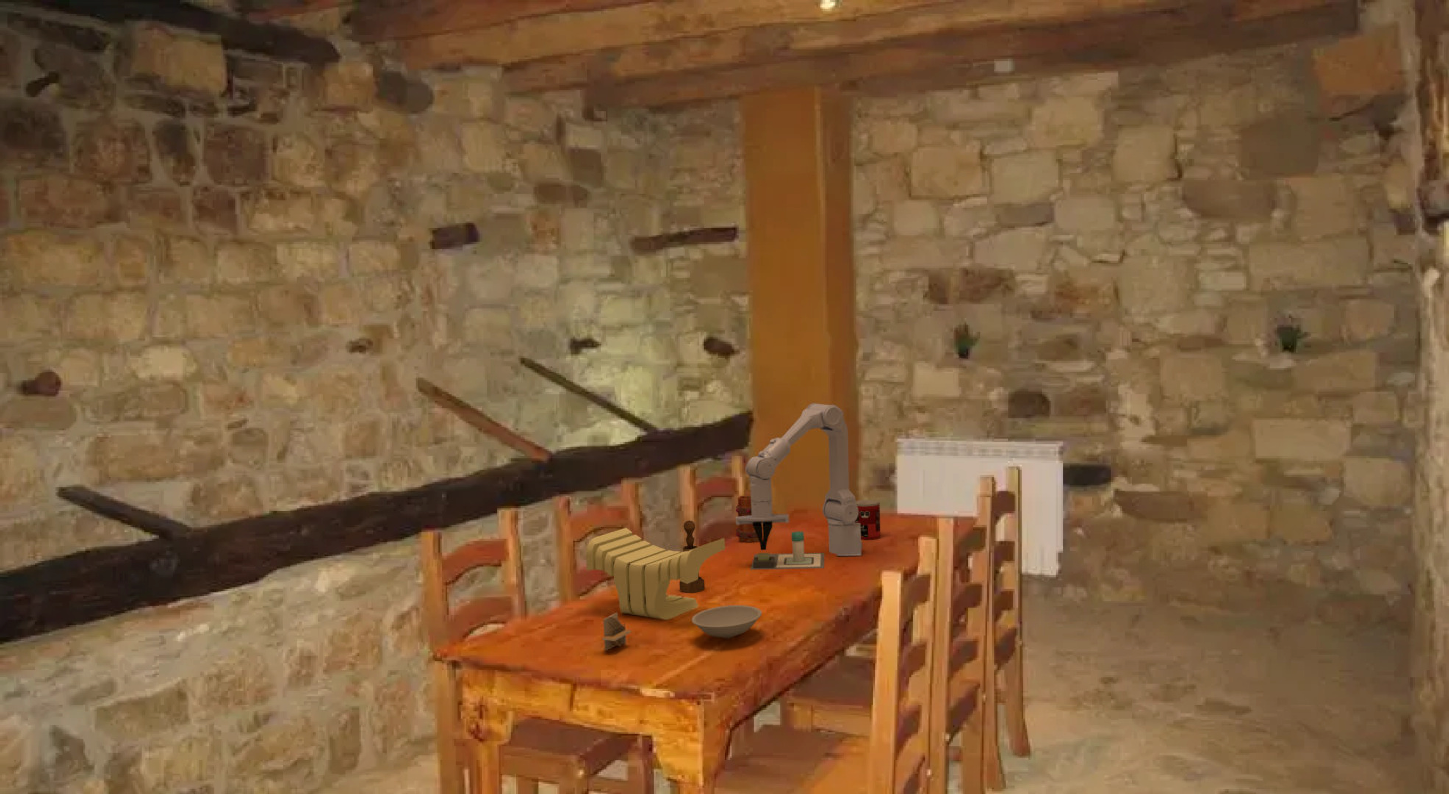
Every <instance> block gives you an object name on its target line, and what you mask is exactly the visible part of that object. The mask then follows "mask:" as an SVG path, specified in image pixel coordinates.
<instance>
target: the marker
mask: <svg viewBox="0 0 1449 794" xmlns="http://www.w3.org/2000/svg"><path fill="white" fill-rule="evenodd" d="M790 535H791V544H792V545H791V546H792V553H793V562H804V561H805V558H804V553H805V541H804V540H805V539H804V538H805V534H804V531H800V530H799V531H798V530H797V531H792V532H791V533H790Z"/></svg>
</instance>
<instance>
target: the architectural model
mask: <svg viewBox="0 0 1449 794" xmlns="http://www.w3.org/2000/svg"><path fill="white" fill-rule="evenodd" d="M618 613H619V612H615V613H613V614H611V615H609V616H607V617H605V618H603V619H602V620H603V637H602V639H601V640H602V641H603V640H604V641H603V642H604V643H603V644H604V651H605V652H607V651H609V650H611V649H612V648H614V647H620V648H621V647H622V645H626V644H627V639H626V637H627V636H626V635H628V634H630V633H631V632H632V630H628V629H626V623H623V624H622V623H621V622H620V620H619V617H618ZM613 646H614V647H613ZM608 649H609V650H608ZM606 650H607V651H606Z"/></svg>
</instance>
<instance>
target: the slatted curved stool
mask: <svg viewBox="0 0 1449 794" xmlns="http://www.w3.org/2000/svg"><path fill="white" fill-rule="evenodd" d="M725 540H726V539H725V537H723V538H720V539H716V540H714V541H711V542H707V543H706V544H702V545H700V546H697V548H694V549H692V550H690V551H685V552H683V551H678V550H677V551H675V550H670V549H668V550H667V549H666V548H663V547H660V546H656V545H654V544H652V545H651V543H650V542H648V541H646V540H642V538H641V537H640V536H638V535H637V534H633V532H632V531H631V530H630V529H628V528H627V527H624V528H622V529H618V530H614V531H612V532H608V533H604V534H603V535H598V536H595V537H593V538H592V539H591V540H590V541H589V542H588V544H587V546H586V550H585V559H586V560H585V561H586V571H587V572H588V571H593V570H596V571H604V572H605V573H606V574H608V575H609V576H610V577H613V581H614V582H613V583H614V585H615V590H616V592H617V597H618V603H619V605H618V606H619V609H620V610H619V611H620V613H622V614H628V615H633V616H641V617H645V618H653V619H660V620H671V619H672V618H676V617H677V616H679V615H682V614H684V613H685V614H686V613H687V612H689V611H693V610H694V609H696V608H698V607H699V604H698V601H697V600H696V598H694V597H688V596H685V597H684V596H680V595H674V594H670V595H668V594H667V590H668V588H669V586H670V584H671V580H674V581H679V582H680V581H681V582H684V583H686V584H688V583H691V582H693V581H696V580H698V574H699V575H700V569H701V567H702V565H703V564H704V562H706V560H707V559H708V558H710V557H712V556H714V555H715V554H717V553H719V552H721V551H725V550H726V546H725V545H726V544H725Z"/></svg>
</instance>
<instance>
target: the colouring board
mask: <svg viewBox="0 0 1449 794" xmlns="http://www.w3.org/2000/svg"><path fill="white" fill-rule="evenodd" d="M769 556H770V561H758V553H756V554H755V553H754V556H753V559H752V562H751V567H750V570H751V571H752V570H790V569H791V570H793V569H794V570H795V569H796V570H797V569H803V570H804V569H824V568H825V552H804V558H805V561H804V562H793V552H792V553H769Z"/></svg>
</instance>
